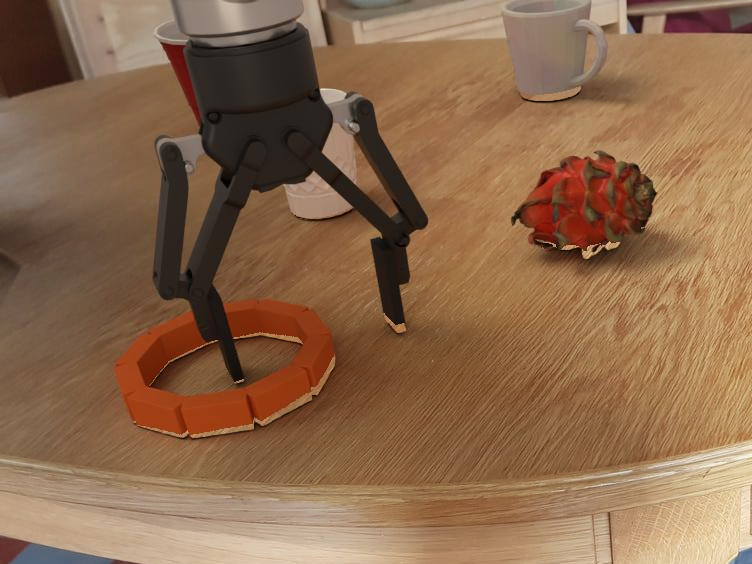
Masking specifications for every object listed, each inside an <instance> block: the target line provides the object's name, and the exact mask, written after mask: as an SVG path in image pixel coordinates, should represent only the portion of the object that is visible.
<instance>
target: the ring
mask: <svg viewBox="0 0 752 564" xmlns="http://www.w3.org/2000/svg"><path fill="white" fill-rule="evenodd" d="M223 306H224V309H225V313H226V316H227V320H228V323H229V327H230V330H231V333H232V337H233V338H234V337H240V336H243V335H244V336H246V335H249V334H254V333H259V332H261V333H262V332H263V333H269V334H275V335H276V334H277V335H284V336H285V335H286V336H292V337H293V336H294V337H298V338H299V339H300V340H301V341H302V343H303V346H301V347H300V349H299V351H298V352H297V354H296V355H295V357H294V358H293V360H292V362H291V363H290V364H288V365H287V366H285V367H282V368H281V369H279V370H277V371H275V372H273V373H271V374H268V375H267V376H265V377H263V378H260V379H259V380H257V381H255V382H253V383H250V384H249V385H247V386H245V387H241V388H234V389H227V390H221V391H220V390H219V391H215V392H208V393H202V394H201V393H200V394H194V395H188V396H187V395H182V394H179V393H174V392H170V391H166V390H162V389H160V388H159V389H158V388H154V387H151V386H150V387H149V385H150V384H151V383H152V382H153V380H154V379H155V377H156V376H157V375H158V374H159V373H160V371H161V370H162V369H163V368H164V366H165V365H166V364H167V363H168V361H170V360H172V359H174V358H176V357H178V356H180V355H182V354H184V353H186V352H188V351H190V350H193V349H195V348H197V347H200V346H202V345H204V344H206V342H205V340H204V339H203V338H202V337H201V335H200V333H199V331H198V329H197V326H196V323H195V320H194V316H193V313H192V310H191V311H188V312H186V313H184V314H181V315H179V316H177V317H174V318H172V319H170V320H168V321H166V322H163V323H161V324H159V325H157V326H154V327H152V328H150V329H148V330H147V333H142V334H140V335H139V336H138V337H137V338H136V340H134V342H133V343H132V345H130V346H129V347H128V349H127V350H126V351H125V352H124V353H123V354H122V355H121V356H120V357H119V358H118V359H117V361H115V363H114V365H115V366H113V372H114V374H115V378H116V380H117V384H118V387H119V389H120V392H121V395H122V398H123V400H124V403H125V406H126V409H127V411H128V413H129V416H130V419H131V421H132V422H133V421H136V423H135V424H136V426H137V425H140V426H146V427H150V428H157V429H160V430H165V431H168V432H174V433H176V434H179V435H180V434H181V435H182V434H183V433H185V432H186V431H187V430H188V432H189V435H188V436H190V435H193V434H199V433H204V432H210V431H213V430H214V431H216V430H219V429H224V428H231V427H238V426H241V425H242V426H244V425H249V424H253V419H254V417H255V418H257V419H258V420H260V421H263V420H264V419H266V418H267V417H269V416H271V415H272V414H274V413H275V412H278V411H279V410H281V409H282V408H285V407H286V406H288V405H289V404H290V403H292V402H294V401H296V399H299V398H300V397H302V396H303V395H305V394H306V393H309V392H311V387H316V386H317V385H318V383H319V381H320V379H321V378H322V377H323V375H324V373H325V372H326V370H327V368H328V366H329V364H330V362H331V360H332V358H333V357H334V351H335V346H334V343H333V337H332V333H331V331H330V329H329V328H328V327H327V326H326V324H325V323H324V321H323V320H322V318H320V317H319V315H318V314H317V312H316V311H315V310H314V309H313V308H311V309H310V307H309V306H307V305H300V304H295V303H290V302H285V301H279V300H274V299H268V298H264V299H262V300H261V301H260V300H259V298H253V299H247V300H239V301H232V302H227V303H226V302H225V303H223ZM208 343H209V342H208Z"/></svg>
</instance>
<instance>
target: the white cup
mask: <svg viewBox="0 0 752 564" xmlns="http://www.w3.org/2000/svg"><path fill="white" fill-rule="evenodd" d="M320 93H321V96H322V98H323V100H324V101H325V103H326V104H329V103H332V102H336V101H340V100H344V98H345V96H346V94H347V93H346V92H345V91H343V90H340V89H337V88H336V89H335V88H323V87H322V88H320ZM354 140H355V139H354V137H353V135H350V134H348V133H346V132H345V131H344V130H343V129H342V128H341V127H340V125H339V123H333V126H332V129H331V131H330V134H329V136H328V138H327V141H326V143H325V146H324V148H323V150H322V153H323V154H324V155H325V156H326V157H327V158H328V159H329V160H330V161H331V162H333V163H334V164H335V165H336V166H337V167H338V168H339V169H340V170H341V171H342V172H343V173H344V174H345V175H346V176H347V177H348V178H349V179H350V180H351V181H352V182H353V183H354V184H355V185H356V186H357V187H359V185H358V168H357V159H356V152H355V142H354ZM282 186H283V187H284V190H285V195H286V199H287V202H288V206H289V210H290V213H291V212H292V213H293V214H292V213H291V214H292V215H293V216H295V215H296V216H300V217H304V218H314V217H315V218H316V217H326V216H331V215H334V214H338V213H340V212H342V211H345V210H346V209H349V208H351V207H352V206H351V205H350V204H349V203H348V202H347V201H346V200H345V199H344V198H342V197H341V196H340V195H339V194H338V193H337V192H336V191H335V190H334V189H333V188H332V187H331V186H330V185H328V184H327V183H326V182H325V181H324V180H323V179H322V178H321V177H320V176H319V175H318V174H317V173H315V172H314V171H313V172H312V174H311V175H310V176H309V177H307V178H306V182H303V183H299V184H282ZM296 216H295V217H296Z"/></svg>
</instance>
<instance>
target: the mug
mask: <svg viewBox="0 0 752 564" xmlns="http://www.w3.org/2000/svg"><path fill="white" fill-rule="evenodd" d="M591 9H592V0H511V1H509V2H506V3H505V4H504V5H502V7H501V11H500V12H501V18H502V22H503V26H504V33H505V36H506V40H507V46H508V50H509V55H510V60H511V64H512V69H513V74H514V79H515V82H516V86H517V87H516V88H517V91H518V90H519V91H520V92H522V93H525V94H531V95H541V94H542V95H544V94H553V93H558V92H563V91H567V90H571V89H574V88H576V87H579V86H582V87H583V86H585V85H586V84H588V83H590V82H591V81H593V80H594V79H595V78H596V77H597V76H598V75H599V74H600V72H601V71H602V69H603V68H604V66H605V63H606V60H607V57H608V50H609V49H608V48H609V43H608V40H607V38H606V34H605V31H604V29H603V28H602V27H601V25H600V24H599V23H597V22H595V21H593V20H591V11H592V10H591ZM589 32H590V33H591V34H592V36H593V37H594V39H595V43H596V45H597V49H596V56H595V59H594V63H593V64H592V65H591V67H590V68H588V70H587V71H585V64H586V54H587V45H588V36H589ZM584 71H585V72H584Z"/></svg>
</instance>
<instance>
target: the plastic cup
mask: <svg viewBox="0 0 752 564" xmlns="http://www.w3.org/2000/svg"><path fill="white" fill-rule="evenodd" d="M152 34H153V36H154V38H155V39H156V40H158V42H159V44H160V45H161V47H162V49H163V51H164V52H165V55H166V57H167V60H168V61H169V62H170V64H171V67H172V69H173V72H174V74H175V76H176V78H177V81H178V83H179V85H180V88H181V89H182V92H183V94H184V97H185V99H186V101H187V103H188V106H189V107H190V108H191V110H192V113H193V115H194V117H195V120H196V122H197V124H198V127H199V128H200V112H199V108H198V105H197V101H196V97H195V93H194V90H193V86H192V82H191V79H190V75H189V71H188V68H187V64H186V60H185V56H184V53H183V49H184V47H185V44H186V42H187V41H188V40H189V39H190V37H189V36H186V35H184V34H182V33H181V32H180V31H178V30H177V28H176V24H175V20H174V19H172V20H168V21H165V22H163V23H161V24H160V25H158V26H156V27H155V28H154V31H153V33H152Z"/></svg>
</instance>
